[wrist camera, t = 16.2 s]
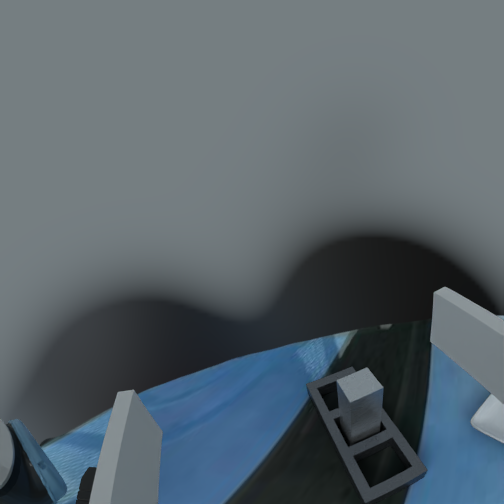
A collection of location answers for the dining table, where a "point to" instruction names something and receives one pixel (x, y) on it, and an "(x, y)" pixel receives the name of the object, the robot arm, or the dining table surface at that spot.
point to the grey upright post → (359, 405)
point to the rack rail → (366, 445)
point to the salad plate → (490, 418)
